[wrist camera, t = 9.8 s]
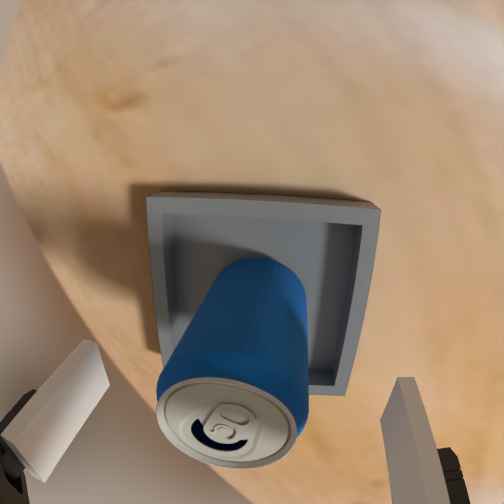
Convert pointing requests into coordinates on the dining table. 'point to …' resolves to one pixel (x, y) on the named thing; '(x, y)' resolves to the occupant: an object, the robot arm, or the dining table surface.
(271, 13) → the dining table surface
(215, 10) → the dining table surface
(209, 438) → the beverage can
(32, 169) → the dining table surface
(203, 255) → the tray
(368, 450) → the dining table surface
